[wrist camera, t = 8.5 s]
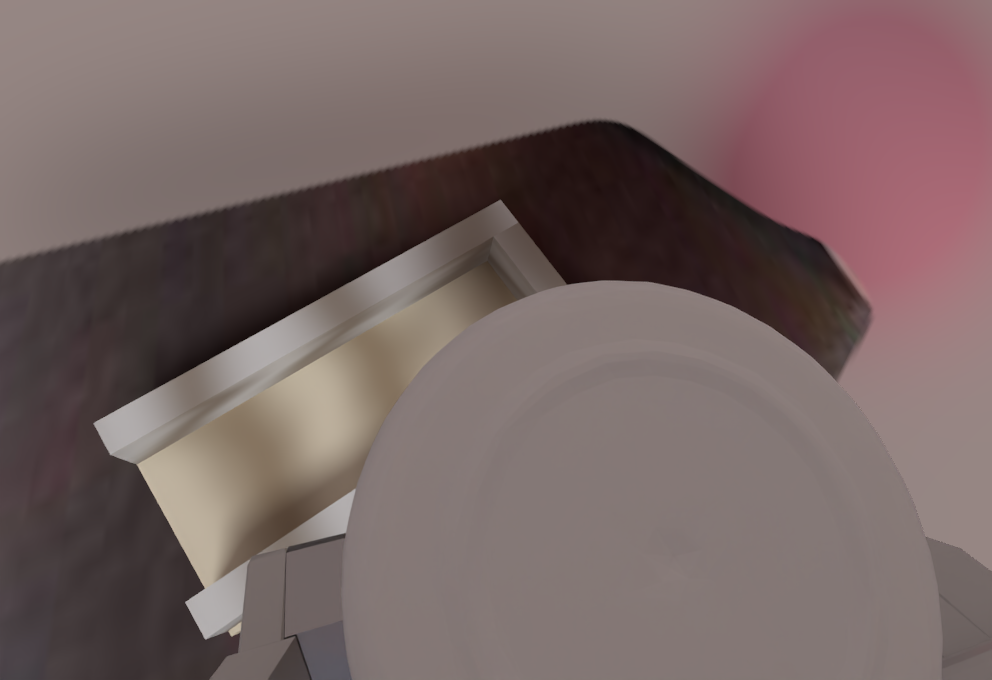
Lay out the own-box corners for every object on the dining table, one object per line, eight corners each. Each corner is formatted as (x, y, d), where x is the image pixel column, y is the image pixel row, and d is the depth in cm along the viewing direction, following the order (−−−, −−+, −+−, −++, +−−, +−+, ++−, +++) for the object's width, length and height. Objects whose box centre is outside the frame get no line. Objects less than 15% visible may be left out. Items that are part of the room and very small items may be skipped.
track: (238, 633, 25) (208, 645, 22) (128, 435, 27) (84, 415, 24) (600, 378, 31) (627, 353, 28) (488, 231, 33) (499, 190, 30)
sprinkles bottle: (549, 640, 16) (1088, 874, 4) (375, 675, 15) (366, 1139, 3) (520, 469, 18) (849, 244, 5) (360, 491, 17) (311, 277, 4)
